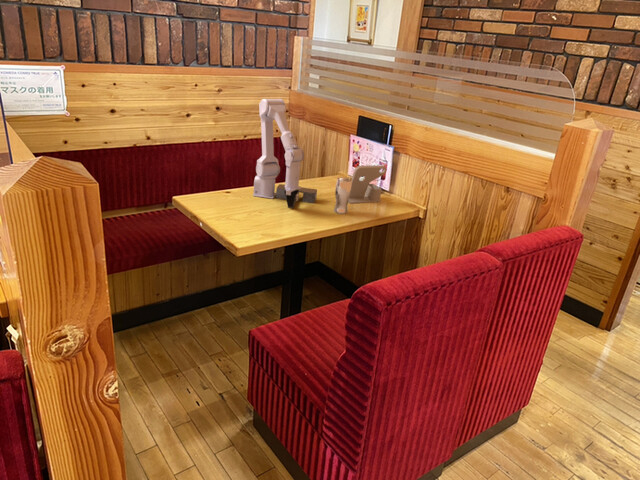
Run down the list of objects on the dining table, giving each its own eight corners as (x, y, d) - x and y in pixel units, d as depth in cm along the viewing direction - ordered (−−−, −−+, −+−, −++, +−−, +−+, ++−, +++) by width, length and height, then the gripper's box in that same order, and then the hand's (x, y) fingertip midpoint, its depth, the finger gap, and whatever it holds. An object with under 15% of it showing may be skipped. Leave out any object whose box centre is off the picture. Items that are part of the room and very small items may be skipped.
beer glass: (348, 210, 224) (352, 178, 218) (348, 215, 217) (352, 182, 211) (333, 208, 224) (337, 176, 218) (332, 213, 218) (336, 180, 212)
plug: (286, 207, 219) (286, 199, 218) (290, 197, 232) (290, 190, 230) (295, 208, 219) (295, 200, 218) (298, 198, 232) (299, 191, 230)
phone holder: (372, 195, 248) (377, 160, 240) (382, 202, 239) (387, 166, 232) (341, 196, 240) (345, 160, 233) (350, 204, 232) (355, 166, 225)
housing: (275, 198, 229) (276, 187, 227) (278, 194, 235) (279, 184, 233) (314, 203, 227) (315, 193, 225) (316, 199, 233) (317, 189, 231)
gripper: (298, 182, 205) (295, 212, 211) (304, 173, 218) (302, 202, 224) (281, 179, 206) (279, 210, 211) (289, 171, 219) (286, 199, 224)
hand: (290, 205), depth 218 cm, fingers closed
